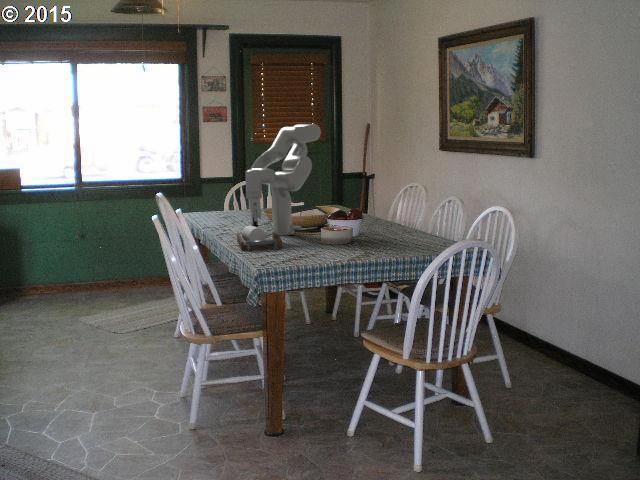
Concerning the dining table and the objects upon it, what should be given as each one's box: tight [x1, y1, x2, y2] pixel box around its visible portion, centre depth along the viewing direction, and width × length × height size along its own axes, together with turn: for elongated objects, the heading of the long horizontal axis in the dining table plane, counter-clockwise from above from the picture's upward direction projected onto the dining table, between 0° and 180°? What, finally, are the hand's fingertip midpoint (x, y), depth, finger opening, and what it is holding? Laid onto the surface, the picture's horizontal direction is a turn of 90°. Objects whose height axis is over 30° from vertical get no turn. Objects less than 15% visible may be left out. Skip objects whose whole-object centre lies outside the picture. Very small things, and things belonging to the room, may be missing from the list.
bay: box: [236, 230, 283, 252], centre depth 358 cm, size 18×30×4 cm, turn 10°
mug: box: [241, 224, 271, 243], centre depth 365 cm, size 12×10×8 cm
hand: (254, 232), depth 376 cm, fingers closed
